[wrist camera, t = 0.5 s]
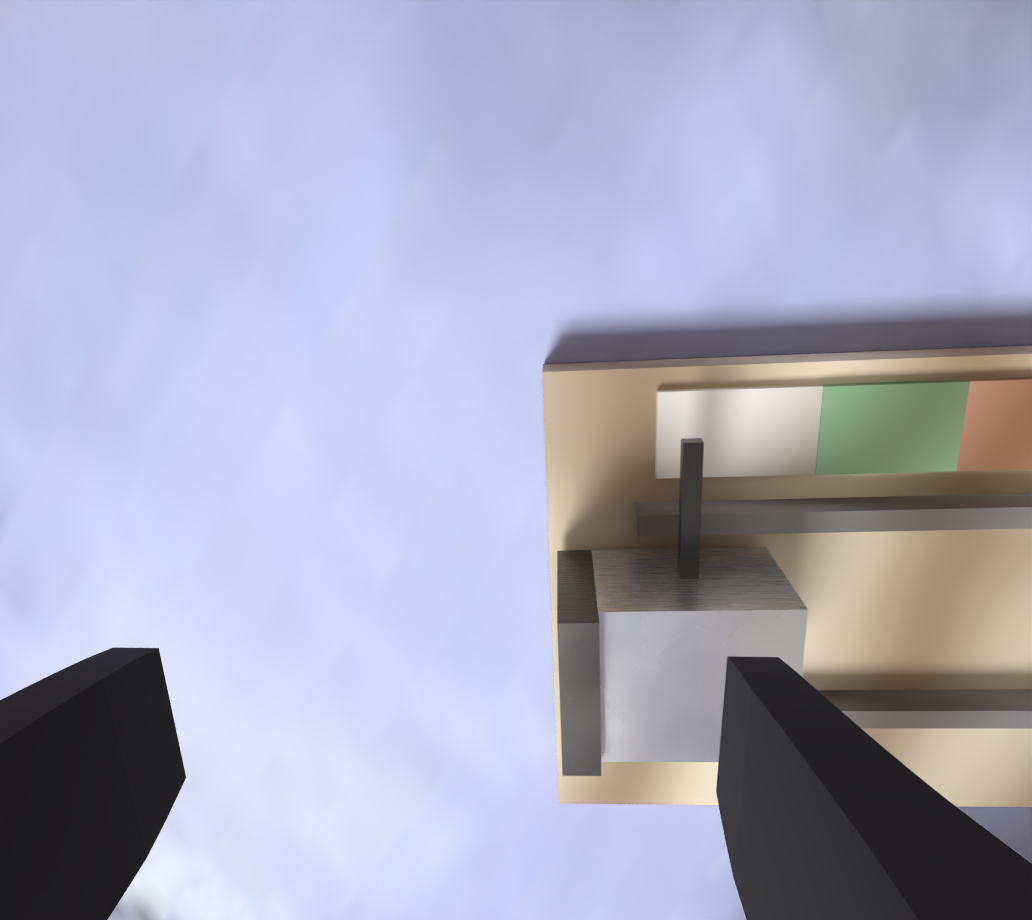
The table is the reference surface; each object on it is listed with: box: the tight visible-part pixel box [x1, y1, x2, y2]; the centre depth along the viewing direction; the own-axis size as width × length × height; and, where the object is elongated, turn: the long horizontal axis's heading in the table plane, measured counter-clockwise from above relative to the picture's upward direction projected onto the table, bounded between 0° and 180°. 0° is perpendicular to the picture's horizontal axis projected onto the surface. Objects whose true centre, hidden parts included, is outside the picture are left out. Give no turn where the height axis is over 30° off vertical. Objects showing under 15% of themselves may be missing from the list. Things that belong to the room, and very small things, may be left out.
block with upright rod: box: [557, 438, 808, 776], centre depth 14 cm, size 5×7×3 cm
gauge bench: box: [543, 345, 1032, 807], centre depth 15 cm, size 17×12×5 cm
